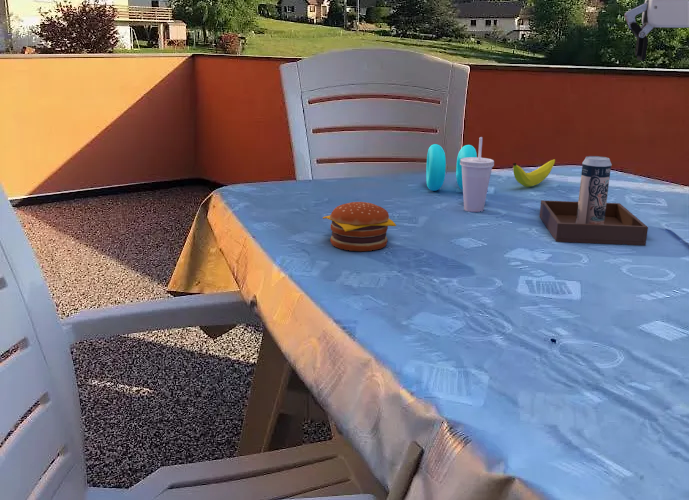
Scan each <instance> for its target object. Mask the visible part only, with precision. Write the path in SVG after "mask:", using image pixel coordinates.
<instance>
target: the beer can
mask: <svg viewBox="0 0 689 500" xmlns="http://www.w3.org/2000/svg"><path fill="white" fill-rule="evenodd" d="M581 164H582V165H581V175H580V184H579V193H578V201H577V202H578V209H577V218H576V223H580V224H604V219H605V211H606V203H608V196H609V195H608V194H609V187H610V180H611V179H610V177H611V171H612V170H611V169H612V165H613V164H612V162H611V159H610V158H609V157H606V156H601V155H600V156H598V155H588V156H585V158H584V160H583V161H582V163H581Z"/></svg>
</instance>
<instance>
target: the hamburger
mask: <svg viewBox="0 0 689 500" xmlns="http://www.w3.org/2000/svg"><path fill="white" fill-rule="evenodd" d="M322 219H323V220H324V219H327V220H329V221H331V224H330V231H331V236H330V244H331V246H333V247H334V246H335V248H337V249H340V250H343V249H344V251H348V250H349V252H372V250H373V251H378V250H382V249H383V248H386V246H387V244H388V236H387V232H388V229H389V227H397V224H396V222H394V220H393V219H391V218H390V214H389V211H388V210H386V209H385V208H384V207H382V206H380V205H377V204H375V203H372V202H366V201H352V202H347V203H343V204H339V205H337V206H336V207H334V208H333V210H332V211H331V213H330V215H325V216H323V217H322Z"/></svg>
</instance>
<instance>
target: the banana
mask: <svg viewBox="0 0 689 500" xmlns="http://www.w3.org/2000/svg"><path fill="white" fill-rule="evenodd" d="M555 163H556V159H555V158H554V159H550V160H549V161H547V162H545V163H544V164H543V165H541V166H539V167H538V168H536V169H534V170H532V171H529V172H526V171H525V170H524V169H523V168H522V167H521V166H519V165H517V162H513V163H512V165H513V167H512V172H513V176H514V179H515V180H516V182H517V183H518V184H520V185H522V186H523V187H526V188H531V187H533V186H536V185H540V184H541V183H542V182H543V181H545V179H546V178H548V176H550V175H549V174H551V172H552V169H553V168H554V166H555Z"/></svg>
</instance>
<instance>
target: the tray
mask: <svg viewBox="0 0 689 500" xmlns="http://www.w3.org/2000/svg"><path fill="white" fill-rule="evenodd" d="M577 209H578V201H569V200H567V201H566V200H565V201H564V200H542V199H541V200H540V207H539V218H540V219H541V221H542V223H543V224H544V226H545V228H546V229H547V230H548V232H549V233H550V235H551V236H552V238H553V240H554V241H555V242H557V243H581V244H601V245H602V244H603V245H622V244H627V245H626V246H646V245H647V238H648V231H649V226H648V225H646V224H645V223H644V222H643V221H641V220H640V219H639V218H638V217H636V216H635V214H633V213H632V212H631V211H630V210H628V209H627V207H625V206H624V205H623V204H621V202H607V203H606V211H605V219H604V224H580V223H576V218H577Z"/></svg>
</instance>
